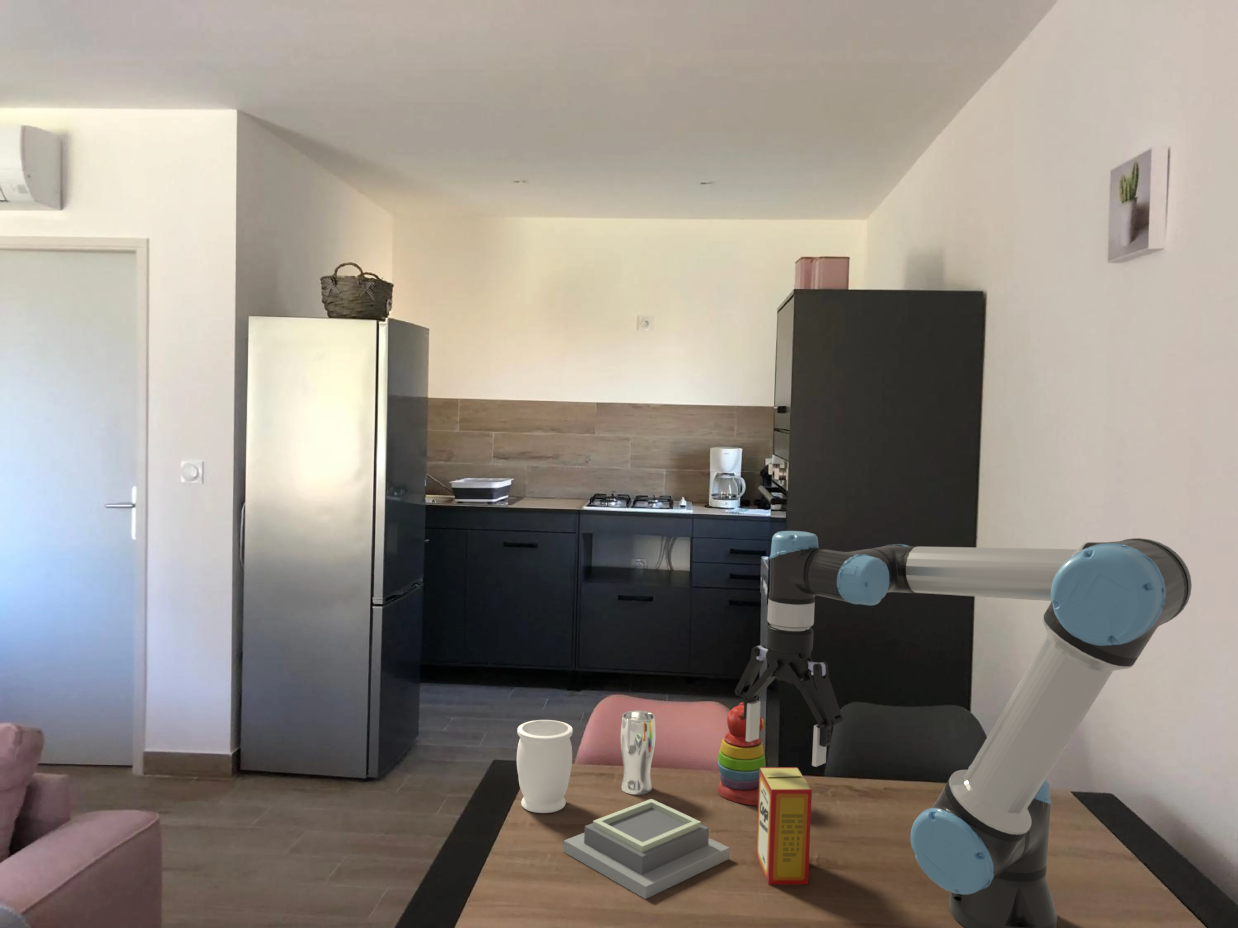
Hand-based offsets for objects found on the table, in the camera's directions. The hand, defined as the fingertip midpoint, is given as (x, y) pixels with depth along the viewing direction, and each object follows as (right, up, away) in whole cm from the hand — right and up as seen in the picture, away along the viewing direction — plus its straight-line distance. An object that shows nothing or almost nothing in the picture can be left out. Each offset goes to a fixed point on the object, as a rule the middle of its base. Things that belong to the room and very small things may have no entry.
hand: (784, 751), depth 153 cm
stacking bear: (-3, -18, +31) cm, 37 cm away
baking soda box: (0, -20, +1) cm, 20 cm away
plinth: (-23, -19, +5) cm, 30 cm away
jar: (-42, -18, +24) cm, 51 cm away
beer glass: (-24, -18, +32) cm, 44 cm away
